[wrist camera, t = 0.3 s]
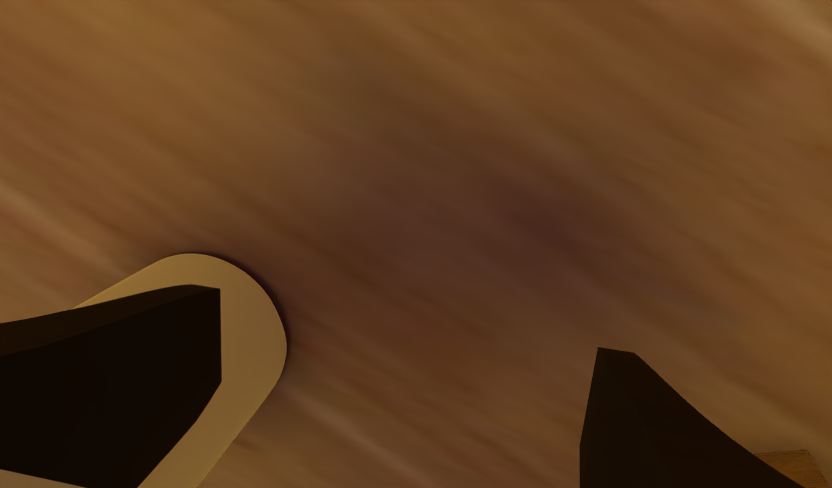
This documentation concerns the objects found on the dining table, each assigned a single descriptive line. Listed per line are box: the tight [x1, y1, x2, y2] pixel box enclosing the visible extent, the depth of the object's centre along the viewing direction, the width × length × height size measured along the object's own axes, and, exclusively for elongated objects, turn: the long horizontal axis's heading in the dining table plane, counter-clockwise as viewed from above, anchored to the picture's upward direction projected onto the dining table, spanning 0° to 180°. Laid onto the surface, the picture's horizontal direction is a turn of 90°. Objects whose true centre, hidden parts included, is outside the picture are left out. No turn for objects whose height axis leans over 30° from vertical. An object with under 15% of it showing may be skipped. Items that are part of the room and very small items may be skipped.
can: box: [72, 254, 287, 488], centre depth 19 cm, size 6×6×12 cm
